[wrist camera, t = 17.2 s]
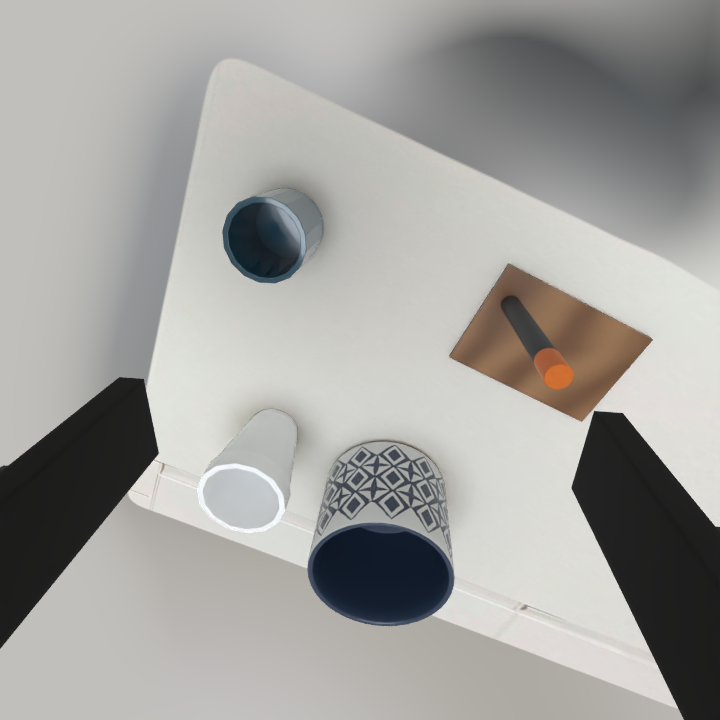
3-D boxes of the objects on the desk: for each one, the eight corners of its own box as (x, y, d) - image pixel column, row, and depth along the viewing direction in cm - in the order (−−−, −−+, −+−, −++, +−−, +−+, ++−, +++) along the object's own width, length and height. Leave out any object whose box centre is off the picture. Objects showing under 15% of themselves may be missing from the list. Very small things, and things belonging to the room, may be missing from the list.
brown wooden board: (449, 355, 52) (449, 357, 51) (508, 263, 47) (509, 264, 46) (580, 419, 54) (582, 422, 53) (650, 337, 49) (653, 339, 48)
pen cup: (251, 186, 46) (218, 195, 38) (323, 189, 45) (304, 198, 37) (256, 259, 49) (227, 280, 41) (323, 262, 48) (306, 285, 40)
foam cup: (293, 468, 61) (266, 544, 49) (230, 441, 60) (187, 512, 48) (320, 417, 57) (298, 486, 45) (253, 386, 56) (212, 449, 44)
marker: (501, 294, 48) (547, 363, 32) (522, 295, 48) (577, 365, 32) (498, 313, 49) (541, 388, 33) (518, 314, 48) (570, 390, 33)
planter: (380, 546, 66) (373, 644, 53) (304, 478, 62) (276, 566, 49) (468, 495, 60) (485, 590, 47) (391, 417, 56) (387, 497, 43)
